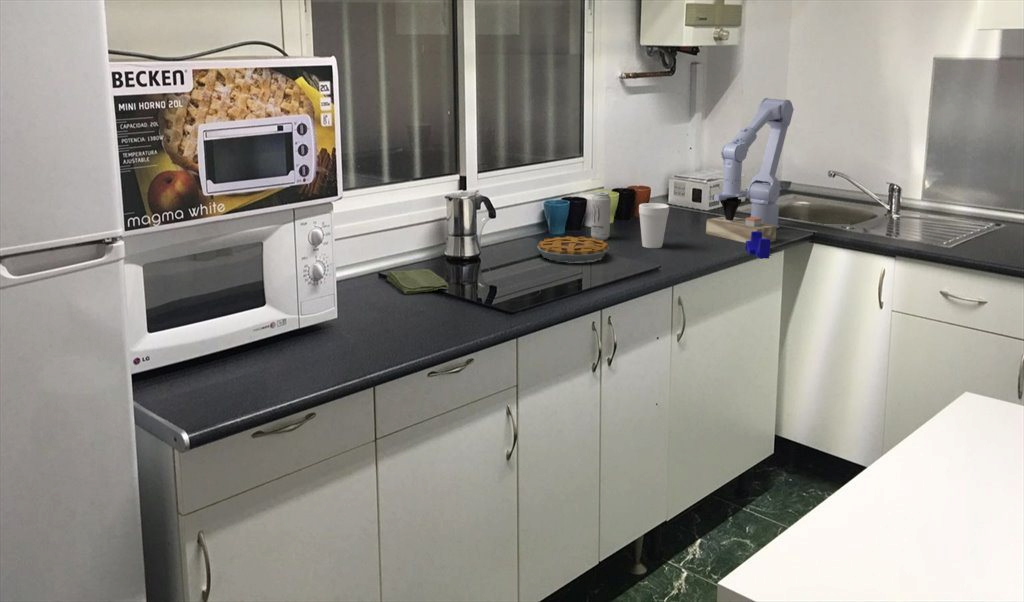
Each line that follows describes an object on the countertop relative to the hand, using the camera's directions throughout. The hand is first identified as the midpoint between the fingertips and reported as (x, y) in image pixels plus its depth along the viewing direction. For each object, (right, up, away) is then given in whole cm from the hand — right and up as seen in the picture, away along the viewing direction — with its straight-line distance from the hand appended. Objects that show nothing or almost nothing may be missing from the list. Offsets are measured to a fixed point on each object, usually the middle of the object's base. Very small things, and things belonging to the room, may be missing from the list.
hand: (729, 220), depth 330 cm
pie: (-54, -14, -30) cm, 64 cm away
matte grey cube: (0, -5, +1) cm, 5 cm away
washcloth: (-98, -23, -64) cm, 119 cm away
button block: (+3, -6, -2) cm, 7 cm away
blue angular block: (+3, -13, -25) cm, 29 cm away
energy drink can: (-44, -7, -5) cm, 45 cm away
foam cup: (-28, -10, -16) cm, 34 cm away
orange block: (+6, -5, -7) cm, 10 cm away
